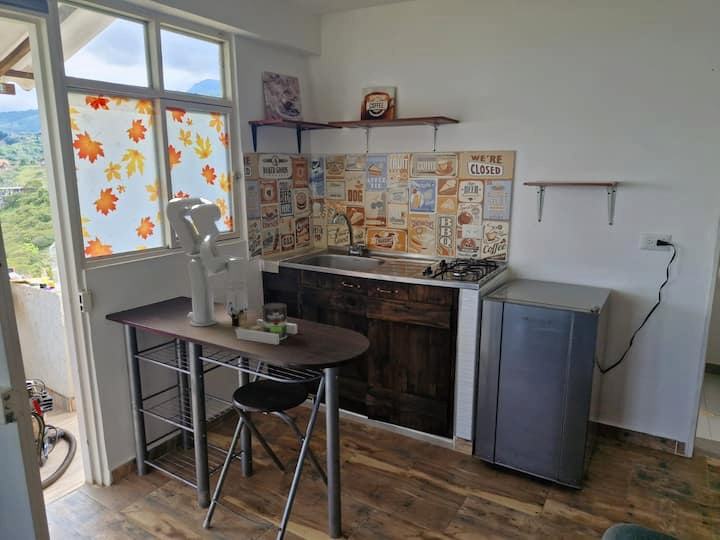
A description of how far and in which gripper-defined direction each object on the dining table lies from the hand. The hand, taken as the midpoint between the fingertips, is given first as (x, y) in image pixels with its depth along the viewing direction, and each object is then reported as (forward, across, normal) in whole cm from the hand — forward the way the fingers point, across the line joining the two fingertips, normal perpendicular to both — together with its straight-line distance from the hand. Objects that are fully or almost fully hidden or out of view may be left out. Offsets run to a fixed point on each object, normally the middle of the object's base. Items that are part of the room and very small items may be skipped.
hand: (238, 324), depth 222 cm
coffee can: (+3, 0, +19) cm, 19 cm away
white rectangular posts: (+3, 0, +15) cm, 15 cm away
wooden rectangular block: (+3, 0, +5) cm, 6 cm away
